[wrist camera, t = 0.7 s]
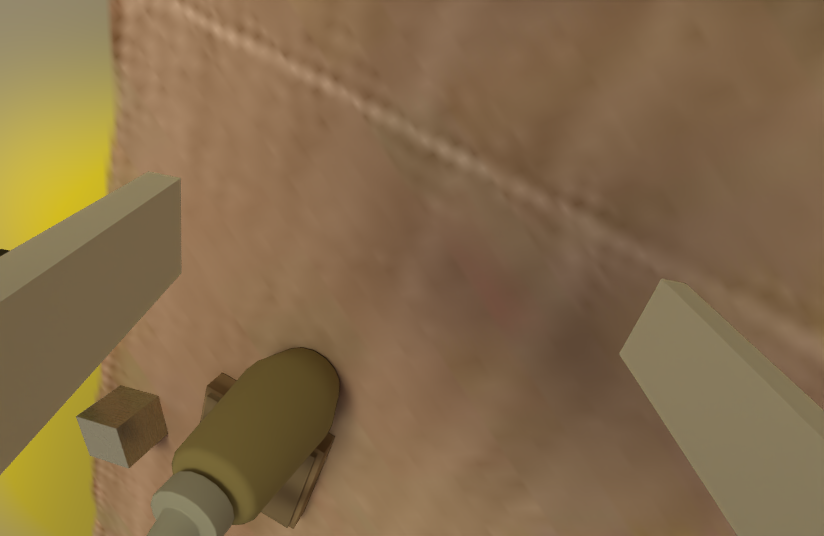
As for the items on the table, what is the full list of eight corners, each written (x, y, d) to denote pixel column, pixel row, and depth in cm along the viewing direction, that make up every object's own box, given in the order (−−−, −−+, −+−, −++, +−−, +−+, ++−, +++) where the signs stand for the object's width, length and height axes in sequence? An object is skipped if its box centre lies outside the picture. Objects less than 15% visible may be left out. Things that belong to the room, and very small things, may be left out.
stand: (222, 372, 42) (203, 389, 40) (334, 436, 40) (321, 457, 38) (205, 452, 48) (188, 471, 45) (303, 511, 46) (290, 533, 44)
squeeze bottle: (273, 319, 37) (56, 500, 22) (361, 358, 36) (197, 580, 20) (264, 391, 41) (72, 589, 25) (343, 428, 40) (193, 662, 24)
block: (121, 384, 48) (76, 416, 43) (159, 395, 46) (116, 428, 42) (132, 421, 50) (90, 455, 46) (168, 432, 48) (128, 468, 44)
